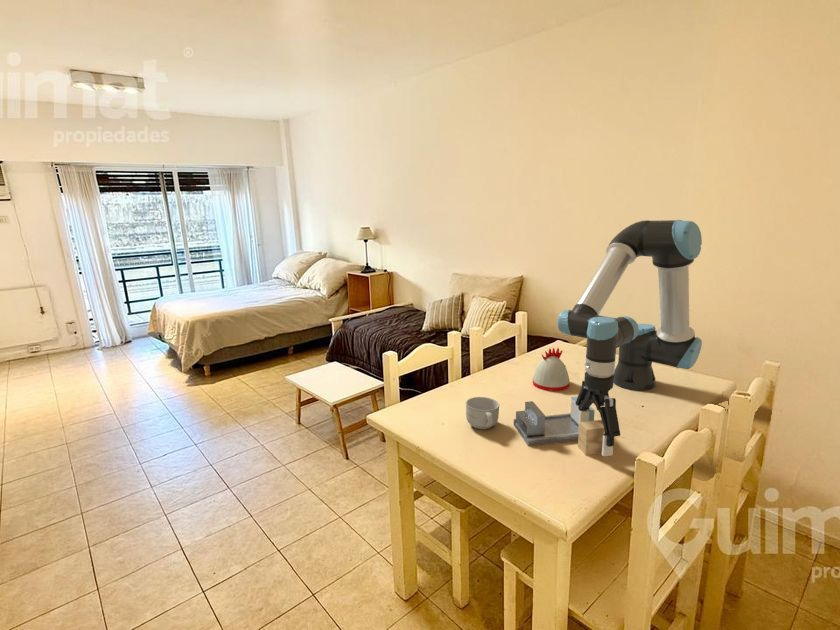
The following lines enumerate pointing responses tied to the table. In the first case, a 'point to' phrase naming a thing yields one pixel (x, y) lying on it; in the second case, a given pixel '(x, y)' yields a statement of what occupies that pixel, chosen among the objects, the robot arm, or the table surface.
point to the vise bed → (554, 430)
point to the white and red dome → (551, 373)
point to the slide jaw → (576, 411)
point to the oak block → (591, 437)
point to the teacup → (482, 412)
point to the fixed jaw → (531, 420)
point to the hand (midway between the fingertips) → (594, 442)
